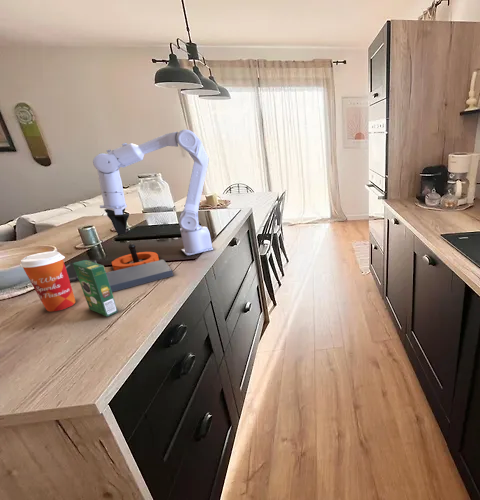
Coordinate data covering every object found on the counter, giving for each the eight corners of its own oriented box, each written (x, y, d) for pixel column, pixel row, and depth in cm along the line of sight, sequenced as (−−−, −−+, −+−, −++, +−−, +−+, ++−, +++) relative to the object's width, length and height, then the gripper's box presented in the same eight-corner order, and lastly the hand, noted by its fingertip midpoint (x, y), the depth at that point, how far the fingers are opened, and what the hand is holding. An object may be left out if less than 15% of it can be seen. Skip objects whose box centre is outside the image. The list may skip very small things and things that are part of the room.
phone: (46, 281, 85) (68, 263, 98) (48, 285, 85) (69, 266, 98) (80, 276, 88) (97, 259, 101) (81, 280, 88) (98, 262, 101)
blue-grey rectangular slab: (164, 264, 100) (163, 259, 99) (173, 275, 91) (172, 270, 91) (106, 278, 90) (104, 272, 89) (110, 292, 81) (107, 286, 81)
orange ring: (154, 254, 109) (153, 249, 108) (162, 264, 100) (161, 258, 99) (111, 263, 101) (109, 258, 100) (115, 275, 92) (113, 269, 91)
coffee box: (120, 311, 72) (104, 264, 67) (107, 317, 70) (89, 268, 65) (102, 304, 75) (85, 258, 71) (89, 310, 73) (71, 262, 68)
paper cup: (34, 317, 70) (10, 264, 65) (47, 302, 76) (26, 253, 71) (76, 308, 73) (56, 258, 68) (85, 295, 80) (67, 248, 75)
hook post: (142, 260, 103) (137, 241, 100) (144, 263, 100) (139, 244, 98) (129, 263, 100) (123, 243, 98) (130, 267, 98) (124, 246, 95)
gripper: (95, 189, 97) (103, 227, 101) (98, 195, 87) (107, 238, 91) (121, 188, 102) (127, 225, 106) (127, 194, 92) (134, 235, 96)
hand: (120, 231), depth 99 cm, fingers open, 7 cm apart
